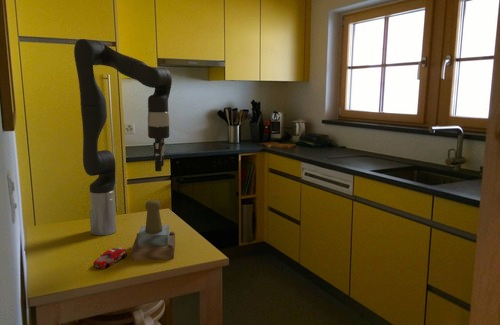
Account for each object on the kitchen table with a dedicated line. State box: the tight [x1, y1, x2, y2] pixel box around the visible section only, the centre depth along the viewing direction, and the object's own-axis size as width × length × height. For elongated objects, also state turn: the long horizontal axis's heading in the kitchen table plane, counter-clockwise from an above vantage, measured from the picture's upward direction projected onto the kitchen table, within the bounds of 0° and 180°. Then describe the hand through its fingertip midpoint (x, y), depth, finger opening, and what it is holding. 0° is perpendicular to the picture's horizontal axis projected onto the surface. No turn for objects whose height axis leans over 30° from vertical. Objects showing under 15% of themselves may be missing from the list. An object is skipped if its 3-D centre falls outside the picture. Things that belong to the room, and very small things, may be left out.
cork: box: [144, 199, 163, 234], centre depth 147 cm, size 6×6×11 cm
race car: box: [92, 247, 128, 270], centre depth 140 cm, size 13×5×4 cm, turn 156°
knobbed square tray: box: [131, 224, 176, 261], centre depth 149 cm, size 14×14×8 cm
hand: (159, 168), depth 152 cm, fingers open, 8 cm apart
